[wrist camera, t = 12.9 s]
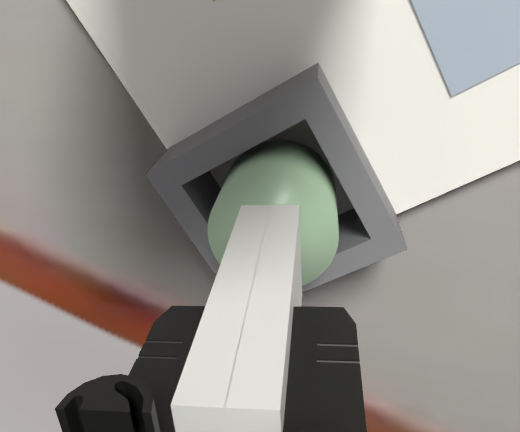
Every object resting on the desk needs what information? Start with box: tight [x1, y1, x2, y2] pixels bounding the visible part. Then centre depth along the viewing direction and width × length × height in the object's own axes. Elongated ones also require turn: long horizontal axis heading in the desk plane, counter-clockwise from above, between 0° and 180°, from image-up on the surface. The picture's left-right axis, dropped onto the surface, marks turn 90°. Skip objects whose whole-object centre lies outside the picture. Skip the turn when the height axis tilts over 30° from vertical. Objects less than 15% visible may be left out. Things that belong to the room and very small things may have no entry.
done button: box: [208, 140, 339, 286], centre depth 15 cm, size 4×4×3 cm
